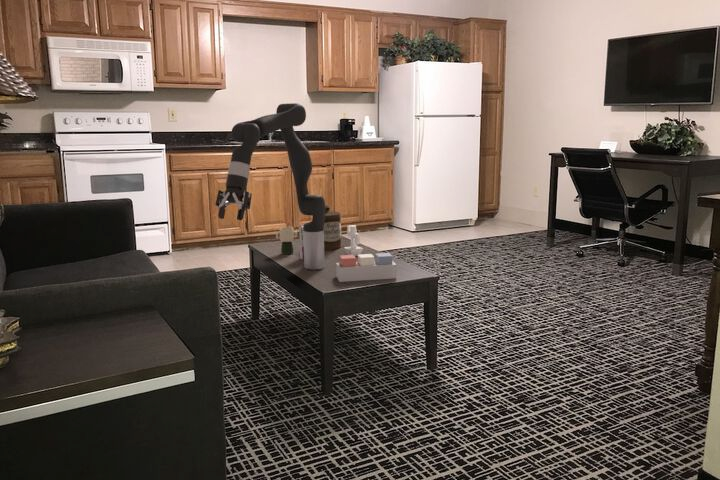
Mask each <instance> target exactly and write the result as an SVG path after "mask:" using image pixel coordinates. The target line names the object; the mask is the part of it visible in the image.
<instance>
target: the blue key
mask: <svg viewBox="0 0 720 480" xmlns="http://www.w3.org/2000/svg"><path fill="white" fill-rule="evenodd" d="M374 255H375V256H374V261H375V263H376V264H377V265H388V264H392V261H393V255H392V254H391V253H390V252H381V253H380V252H379V253H375V254H374Z"/></svg>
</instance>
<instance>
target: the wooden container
mask: <svg viewBox="0 0 720 480" xmlns="http://www.w3.org/2000/svg"><path fill="white" fill-rule="evenodd" d="M341 219H342V218H341V212H340V211H336V210H335V211H334V210H330V206H329V205H325V223H324V251H329V250H336V249H337V250H338V249H340V248H342V221H341Z"/></svg>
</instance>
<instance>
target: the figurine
mask: <svg viewBox="0 0 720 480" xmlns="http://www.w3.org/2000/svg"><path fill="white" fill-rule="evenodd" d="M357 230H358V229H357V225H356V224H354V225H353V224H352V225H350V224H349V225H347V227H346V234H347V236H348V237H350V246H345V247H343V248H344V251H345V252H346V255H354V256H355V257H358V255H359V254H362V252H363V250H364V248H363V247H360V246H358V245H360V243H361V242H360V240H361V239H360V238H361V237H360V236H361V235H360V234H359V233H358V232H357Z"/></svg>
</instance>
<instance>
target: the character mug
mask: <svg viewBox="0 0 720 480" xmlns="http://www.w3.org/2000/svg"><path fill="white" fill-rule="evenodd" d="M294 229H295V228H294V227H291V226H284V227H282V226H281V227H280V228H279V232H276V233H275V239H276V240H280V242H281V246H280V247H281V248H280V249H281V250H280V251H281V254H284V255H287V254H292V253H294V247H293V246H294V245H293V241H294V240H295V238H298V231H297V230H294Z"/></svg>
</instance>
